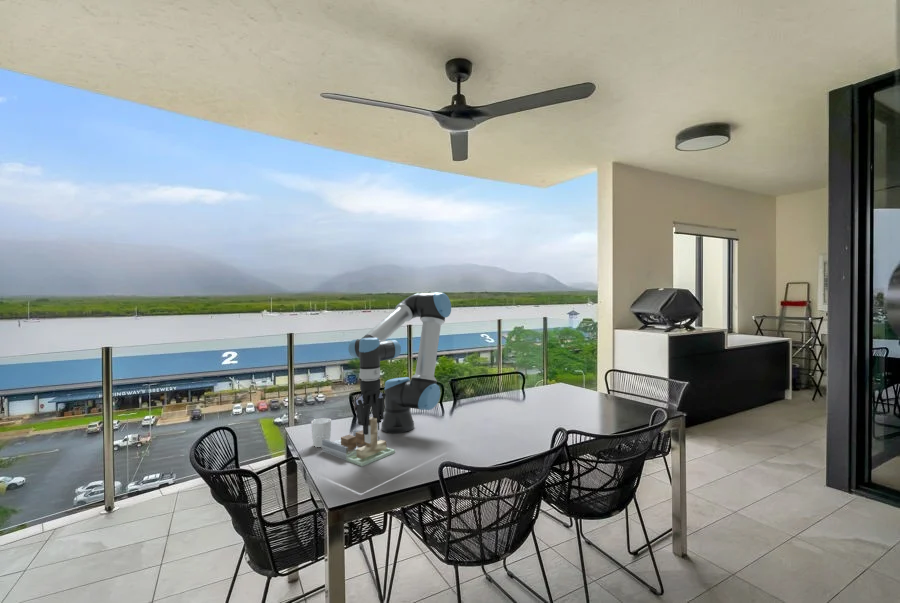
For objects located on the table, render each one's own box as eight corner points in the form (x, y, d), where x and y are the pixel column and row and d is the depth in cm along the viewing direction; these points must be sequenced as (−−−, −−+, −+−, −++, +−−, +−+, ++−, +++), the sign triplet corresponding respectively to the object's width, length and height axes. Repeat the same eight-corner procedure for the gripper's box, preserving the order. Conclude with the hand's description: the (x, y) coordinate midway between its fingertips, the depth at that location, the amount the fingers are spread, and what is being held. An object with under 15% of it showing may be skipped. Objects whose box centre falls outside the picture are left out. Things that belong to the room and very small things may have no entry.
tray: (379, 448, 157) (379, 445, 157) (395, 453, 151) (394, 449, 151) (346, 461, 144) (346, 457, 144) (362, 467, 139) (362, 463, 139)
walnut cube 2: (363, 439, 159) (363, 429, 159) (370, 441, 156) (370, 431, 156) (355, 442, 156) (355, 432, 156) (362, 444, 153) (362, 434, 153)
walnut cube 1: (349, 444, 153) (349, 434, 153) (356, 446, 151) (355, 436, 151) (340, 447, 150) (340, 437, 150) (347, 450, 148) (347, 439, 148)
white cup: (335, 443, 164) (335, 419, 164) (320, 449, 157) (320, 424, 157) (322, 440, 168) (322, 417, 168) (307, 446, 161) (307, 421, 161)
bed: (355, 441, 166) (355, 429, 166) (379, 448, 157) (379, 436, 157) (322, 452, 153) (322, 439, 154) (346, 461, 144) (346, 448, 144)
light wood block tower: (381, 447, 154) (380, 414, 154) (386, 448, 152) (385, 415, 152) (356, 457, 144) (355, 422, 144) (361, 459, 142) (361, 423, 142)
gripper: (359, 383, 139) (361, 449, 139) (392, 376, 152) (394, 436, 152) (346, 381, 144) (347, 445, 144) (379, 374, 157) (380, 433, 157)
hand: (371, 440), depth 148 cm, fingers closed on light wood block tower, 3 cm apart
